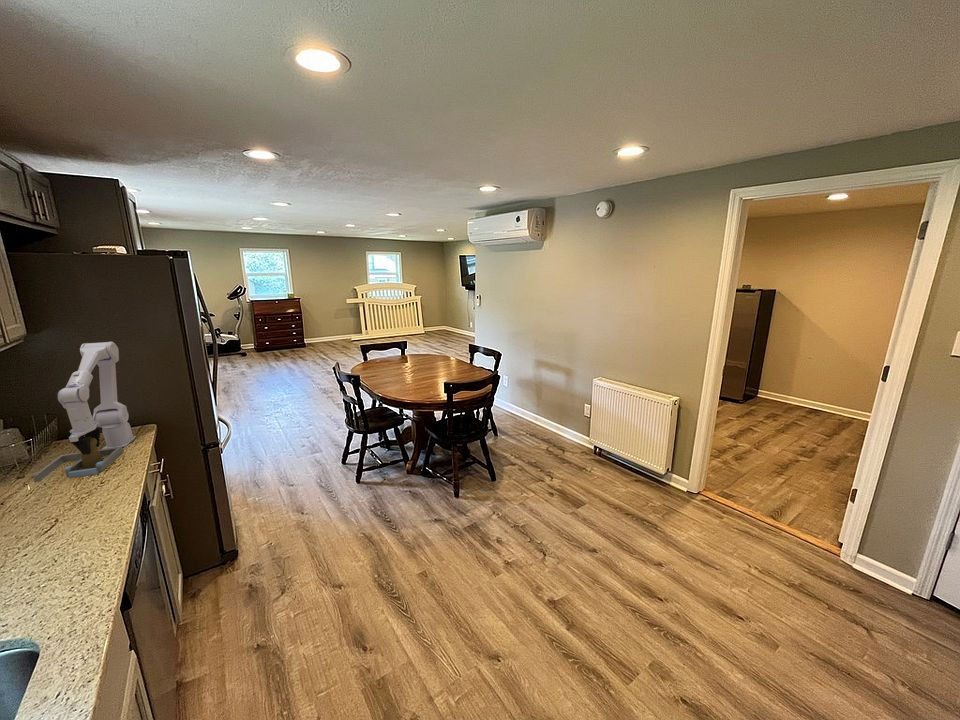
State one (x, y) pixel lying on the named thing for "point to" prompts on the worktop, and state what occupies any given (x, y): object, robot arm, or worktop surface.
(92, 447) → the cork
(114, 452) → the blue open frame
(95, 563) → the worktop surface
